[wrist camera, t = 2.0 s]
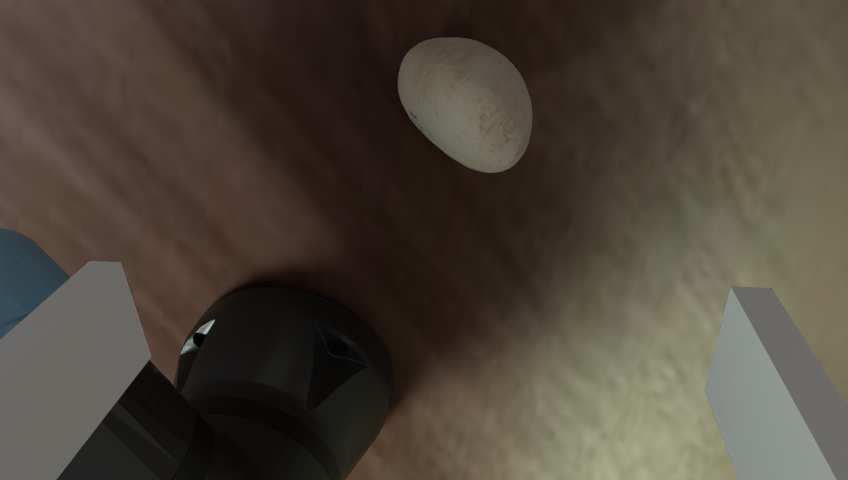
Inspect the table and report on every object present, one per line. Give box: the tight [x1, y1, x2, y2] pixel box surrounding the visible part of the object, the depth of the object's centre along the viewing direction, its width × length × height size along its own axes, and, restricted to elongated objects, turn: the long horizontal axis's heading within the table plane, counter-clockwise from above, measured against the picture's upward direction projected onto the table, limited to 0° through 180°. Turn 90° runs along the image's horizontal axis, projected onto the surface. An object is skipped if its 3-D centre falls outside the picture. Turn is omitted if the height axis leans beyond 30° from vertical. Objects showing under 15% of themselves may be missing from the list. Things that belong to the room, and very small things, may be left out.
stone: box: [398, 37, 532, 173], centre depth 28 cm, size 6×6×12 cm
